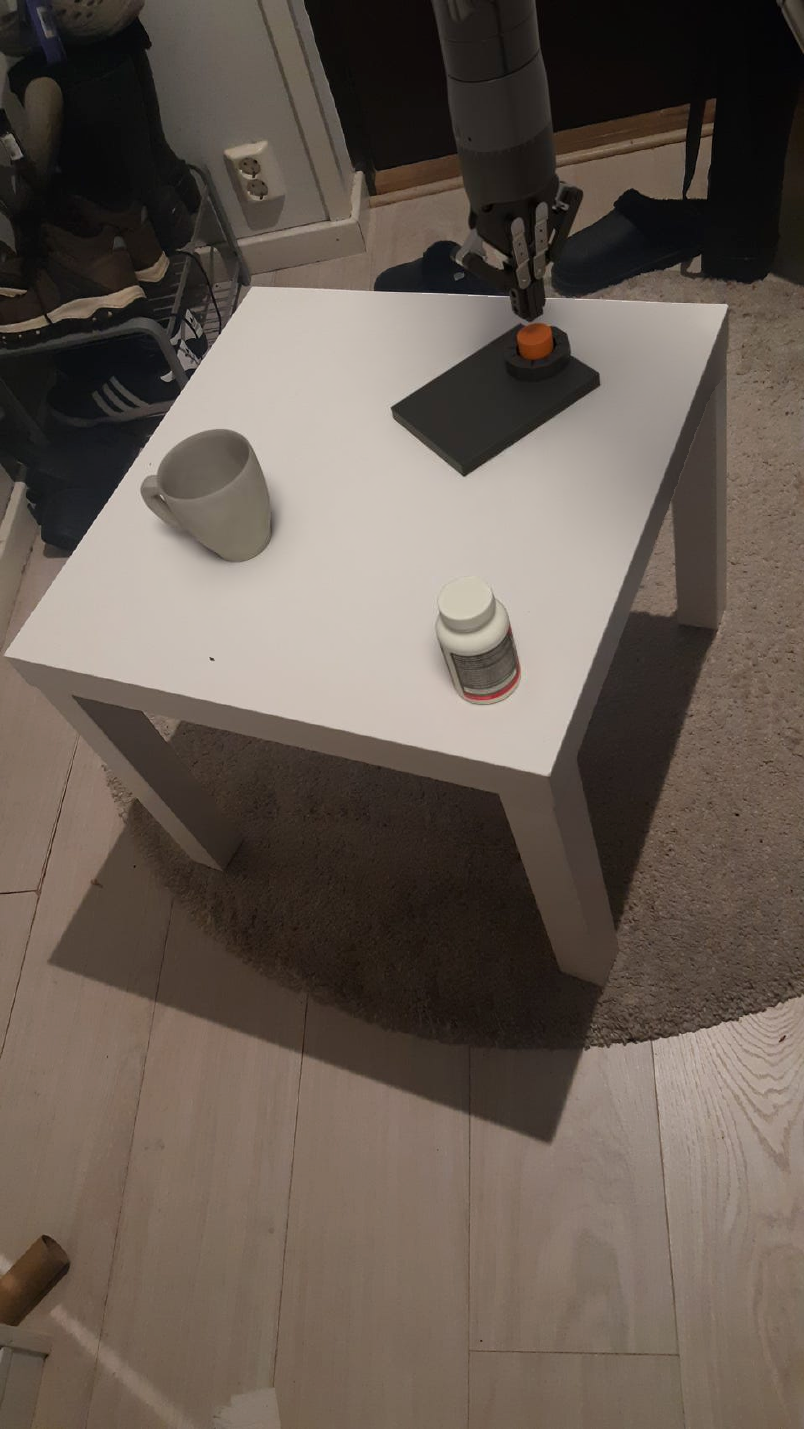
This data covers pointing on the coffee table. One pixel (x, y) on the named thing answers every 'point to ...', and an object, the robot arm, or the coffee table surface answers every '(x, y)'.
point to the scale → (494, 399)
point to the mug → (213, 493)
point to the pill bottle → (477, 641)
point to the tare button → (535, 341)
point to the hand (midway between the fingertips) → (530, 315)
